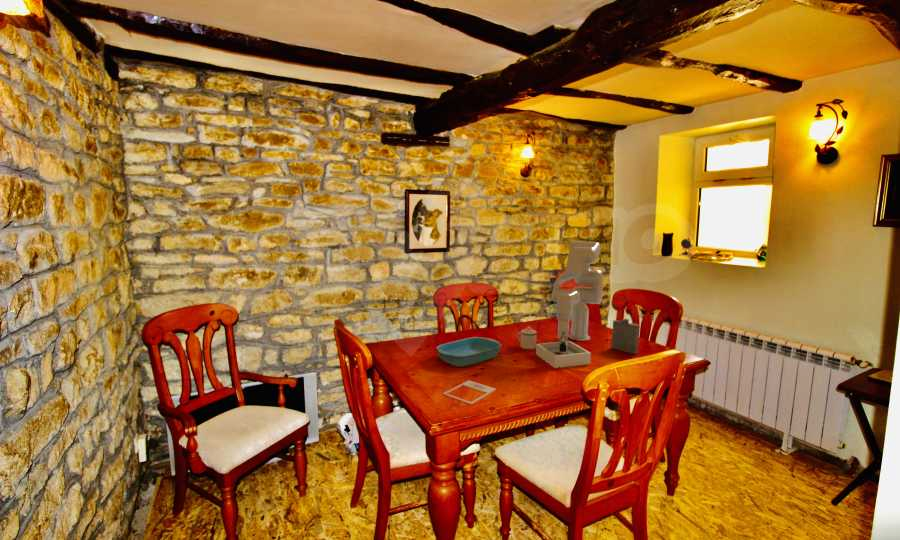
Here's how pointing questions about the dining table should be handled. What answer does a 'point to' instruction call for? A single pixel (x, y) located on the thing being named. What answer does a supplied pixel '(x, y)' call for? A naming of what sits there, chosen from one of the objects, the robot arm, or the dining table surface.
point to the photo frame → (473, 386)
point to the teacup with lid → (528, 338)
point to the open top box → (572, 358)
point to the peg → (562, 352)
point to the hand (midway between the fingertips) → (562, 348)
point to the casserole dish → (468, 351)
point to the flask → (625, 336)
